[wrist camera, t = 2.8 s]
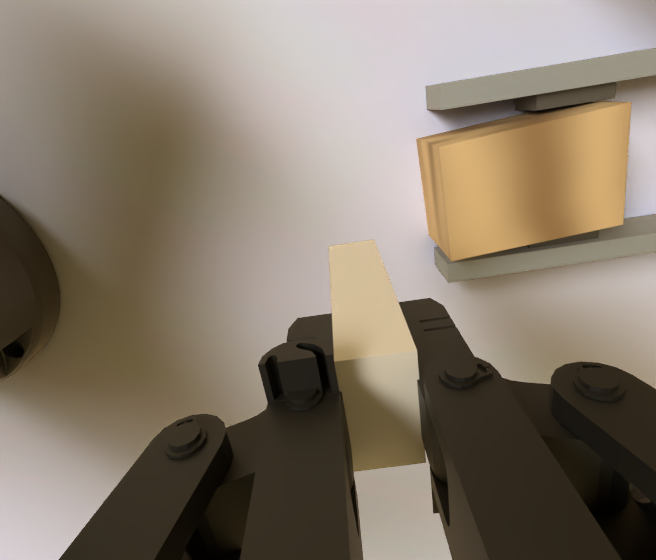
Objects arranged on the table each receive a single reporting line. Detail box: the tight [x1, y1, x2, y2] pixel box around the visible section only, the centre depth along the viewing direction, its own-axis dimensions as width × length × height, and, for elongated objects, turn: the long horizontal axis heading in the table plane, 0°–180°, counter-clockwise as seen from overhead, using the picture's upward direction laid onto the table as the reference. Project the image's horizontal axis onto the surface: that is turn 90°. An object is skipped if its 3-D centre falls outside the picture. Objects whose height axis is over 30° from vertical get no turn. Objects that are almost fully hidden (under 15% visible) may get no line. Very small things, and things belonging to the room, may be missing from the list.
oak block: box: [416, 102, 631, 261], centre depth 23 cm, size 9×6×5 cm, turn 103°
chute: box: [426, 48, 656, 283], centre depth 22 cm, size 21×11×5 cm, turn 99°
